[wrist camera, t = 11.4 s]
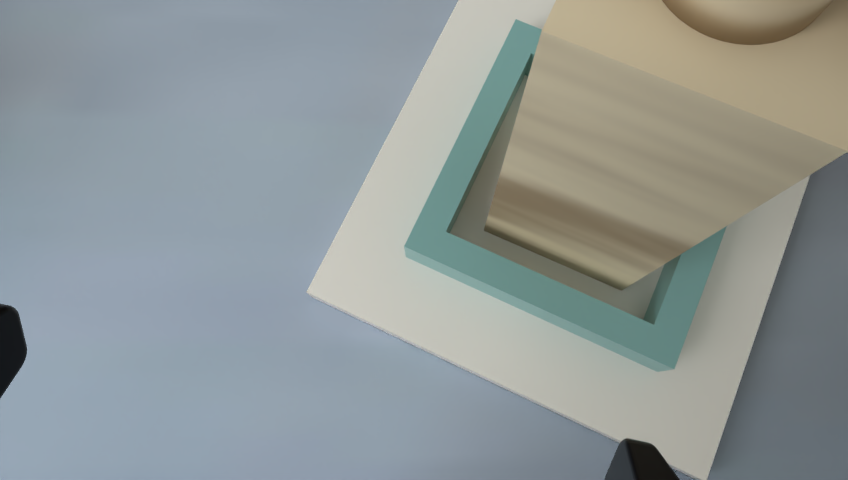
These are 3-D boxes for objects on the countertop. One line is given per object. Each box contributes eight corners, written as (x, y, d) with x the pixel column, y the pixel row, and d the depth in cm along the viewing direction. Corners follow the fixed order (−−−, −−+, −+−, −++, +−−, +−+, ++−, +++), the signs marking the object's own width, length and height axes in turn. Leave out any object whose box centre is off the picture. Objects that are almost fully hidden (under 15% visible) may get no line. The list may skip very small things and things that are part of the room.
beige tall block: (621, 290, 21) (894, 123, 9) (483, 230, 22) (552, -8, 9) (671, 162, 22) (977, -150, 10) (538, 108, 23) (668, -252, 10)
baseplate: (693, 477, 21) (727, 487, 18) (311, 297, 22) (297, 283, 20) (817, 118, 24) (861, 85, 21) (474, -18, 25) (479, -62, 23)
